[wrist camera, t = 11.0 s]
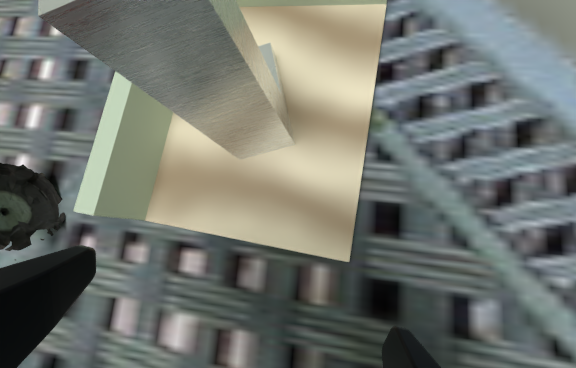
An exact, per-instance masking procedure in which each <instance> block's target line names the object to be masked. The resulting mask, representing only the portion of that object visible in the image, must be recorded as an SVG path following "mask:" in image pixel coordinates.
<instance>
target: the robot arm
mask: <svg viewBox="0 0 576 368" xmlns="http://www.w3.org/2000/svg"><path fill="white" fill-rule="evenodd" d="M95 273H96V252H95V250H94V249H93V248H90V247H86V246H82V245H78V246H75V247H71V248H68V249H64V250H61V251H58V252H54V253H51V254H47V255H44V256H40V257H37V258H34V259H30V260H27V261H23V262H20V263H16V264H13V265H10V266H6V267H3V268H0V368H17V367H18V366H19V365H20V364H21V362H22V361H23V360H24V359H25V358H26V357H27V356H28V355H29V354H30V353H31V352H32V351H33V350H34V349H35V348H36V347H37V345H38V344H39V343H40V342H41V341H42V340H43V339H44V338H45V337H46V336H47V335H48V334H49V333H50V331H51V330H52V329H53V328H54V327H55V326H56V325H57V323H58V322H59V321H60V320H61V319H62V317H63V316H64V315H65V314H66V312H67V311H68V310H69V309H70V307H71V306H72V305H73V303H74V302H75V301H76V300H77V298H78V297H79V296H80V295H81V293H82V292H83V291H84V289H85V288H86V287H87V286H88V284H89V283H90V282H91V281H92V279H93V278H94V276H95ZM382 361H383V368H441V367H440V366H439V365H438V364H437V362H436V361H435V360H434V359H433V358H432V357H431V355H430V354H429V353H428V352H427V351H426V350H425V348H424V347H423V346H422V345H421V344H420V343H419V341H418V340H417V339H416V338H415V337H414V336H413V334H412V333H411V332H410V331H409V330H407V329H405V328H401V327H397V326H394V327H392V328H391V330H390V332H389V334H388V336H387V338H386V340H385V342H384V344H383V348H382Z"/></svg>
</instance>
